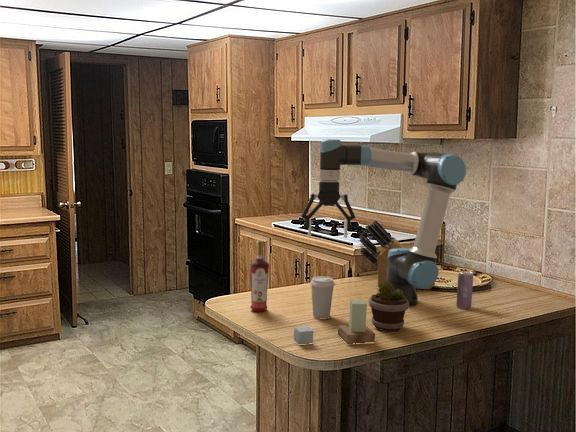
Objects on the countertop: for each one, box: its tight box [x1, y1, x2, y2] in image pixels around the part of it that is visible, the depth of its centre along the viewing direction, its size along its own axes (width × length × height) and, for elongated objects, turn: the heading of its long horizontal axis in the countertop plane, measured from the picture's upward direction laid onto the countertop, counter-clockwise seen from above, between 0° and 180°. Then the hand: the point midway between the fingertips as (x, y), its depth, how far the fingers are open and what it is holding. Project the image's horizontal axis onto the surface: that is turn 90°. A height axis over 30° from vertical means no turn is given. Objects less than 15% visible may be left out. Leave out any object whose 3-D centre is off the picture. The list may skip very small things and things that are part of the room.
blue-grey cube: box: [293, 325, 314, 345], centre depth 215 cm, size 5×5×5 cm
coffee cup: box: [309, 275, 336, 319], centre depth 244 cm, size 10×10×15 cm
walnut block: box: [337, 324, 376, 344], centre depth 220 cm, size 10×10×4 cm
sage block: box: [348, 299, 368, 332], centre depth 219 cm, size 5×5×10 cm
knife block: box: [359, 219, 436, 290], centre depth 292 cm, size 11×35×31 cm, turn 82°
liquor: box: [249, 239, 270, 312], centre depth 249 cm, size 7×7×28 cm
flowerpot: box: [368, 278, 409, 332], centre depth 233 cm, size 14×15×20 cm
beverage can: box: [455, 270, 474, 311], centre depth 261 cm, size 6×6×15 cm
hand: (327, 237), depth 239 cm, fingers open, 13 cm apart
